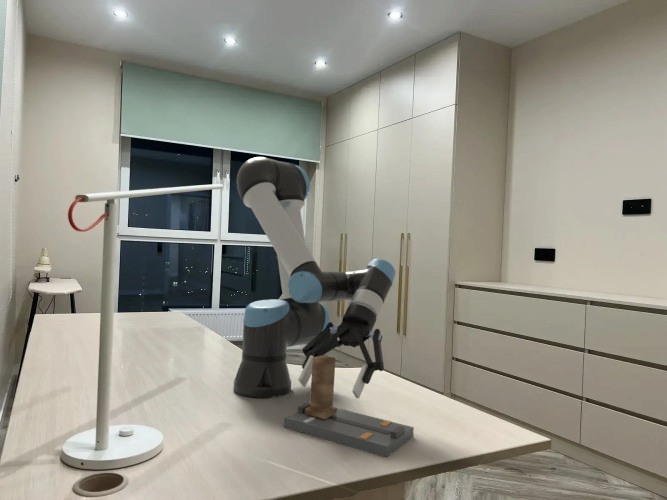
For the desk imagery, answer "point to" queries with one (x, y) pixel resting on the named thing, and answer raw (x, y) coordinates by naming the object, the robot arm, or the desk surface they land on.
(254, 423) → the desk surface
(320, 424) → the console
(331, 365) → the fader
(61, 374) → the desk surface
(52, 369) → the desk surface
